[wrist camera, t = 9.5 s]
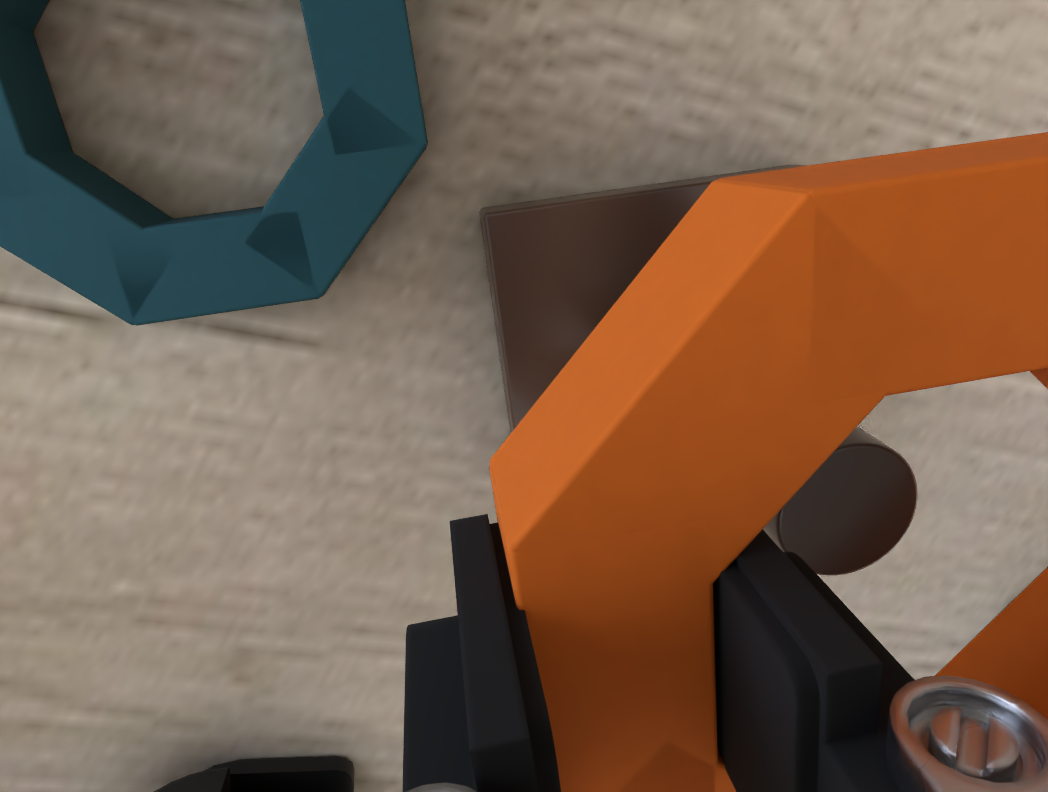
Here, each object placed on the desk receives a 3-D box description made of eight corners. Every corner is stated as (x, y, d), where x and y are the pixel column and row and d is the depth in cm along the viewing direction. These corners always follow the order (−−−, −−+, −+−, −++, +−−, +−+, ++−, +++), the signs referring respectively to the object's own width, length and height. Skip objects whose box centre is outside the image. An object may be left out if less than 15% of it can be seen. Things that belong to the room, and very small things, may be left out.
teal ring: (369, -217, 16) (360, -272, 13) (446, 265, 19) (449, 279, 17) (-148, -173, 15) (-241, -224, 13) (40, 325, 18) (-8, 347, 16)
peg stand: (793, 164, 20) (1159, 182, 10) (789, 450, 23) (1064, 679, 13) (478, 208, 19) (540, 274, 9) (519, 498, 22) (598, 779, 12)
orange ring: (1275, 100, 9) (1526, 87, 7) (1121, 729, 13) (1254, 839, 11) (450, 214, 8) (461, 239, 6) (549, 859, 12) (577, 1008, 10)
